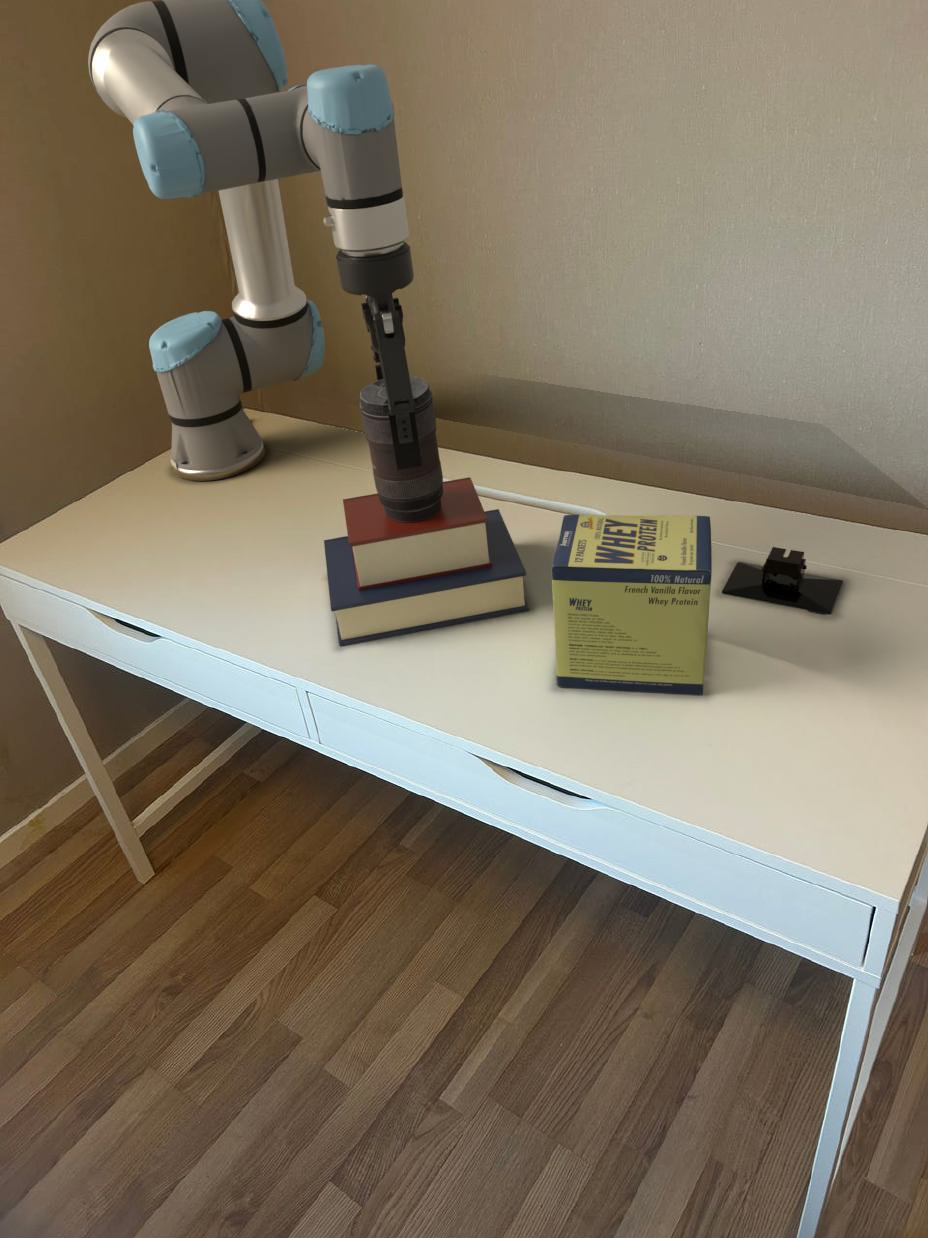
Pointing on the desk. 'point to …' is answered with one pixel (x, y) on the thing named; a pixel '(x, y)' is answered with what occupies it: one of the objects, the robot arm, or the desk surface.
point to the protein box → (632, 602)
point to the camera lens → (403, 489)
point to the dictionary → (417, 538)
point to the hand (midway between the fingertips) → (401, 440)
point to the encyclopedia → (425, 592)
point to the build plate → (784, 583)
